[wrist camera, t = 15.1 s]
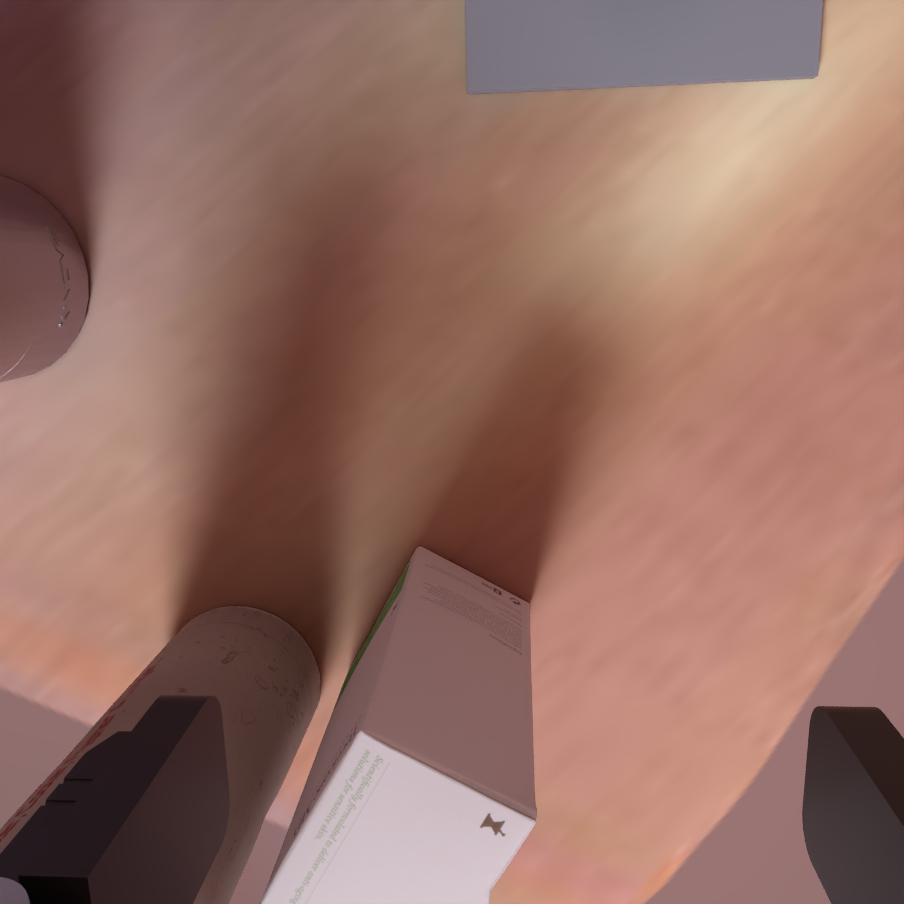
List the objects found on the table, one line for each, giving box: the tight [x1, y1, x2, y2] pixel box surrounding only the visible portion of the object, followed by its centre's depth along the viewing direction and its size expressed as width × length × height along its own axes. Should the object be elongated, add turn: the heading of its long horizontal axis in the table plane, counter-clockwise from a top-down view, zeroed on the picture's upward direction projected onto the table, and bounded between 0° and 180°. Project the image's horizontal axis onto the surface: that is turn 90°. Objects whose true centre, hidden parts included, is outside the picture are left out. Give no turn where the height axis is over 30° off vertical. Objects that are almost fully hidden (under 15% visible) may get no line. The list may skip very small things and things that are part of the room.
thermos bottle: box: [0, 606, 321, 904], centre depth 29 cm, size 8×8×28 cm
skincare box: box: [260, 546, 537, 904], centre depth 34 cm, size 8×7×16 cm
